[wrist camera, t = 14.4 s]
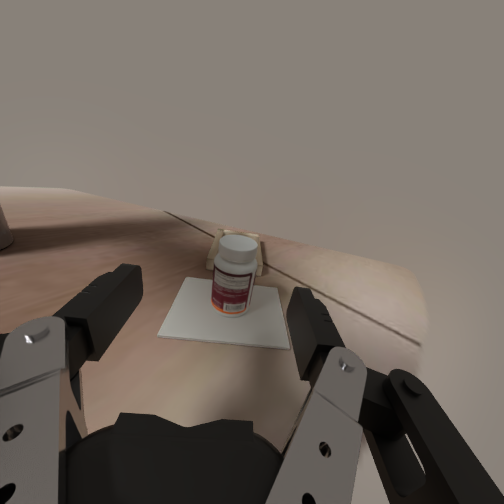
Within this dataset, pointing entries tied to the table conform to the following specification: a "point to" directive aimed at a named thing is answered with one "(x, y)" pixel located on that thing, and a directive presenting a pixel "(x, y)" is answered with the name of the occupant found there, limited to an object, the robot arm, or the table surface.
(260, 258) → the wooden rectangular frame
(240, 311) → the pill bottle
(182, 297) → the mat
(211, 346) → the table surface
